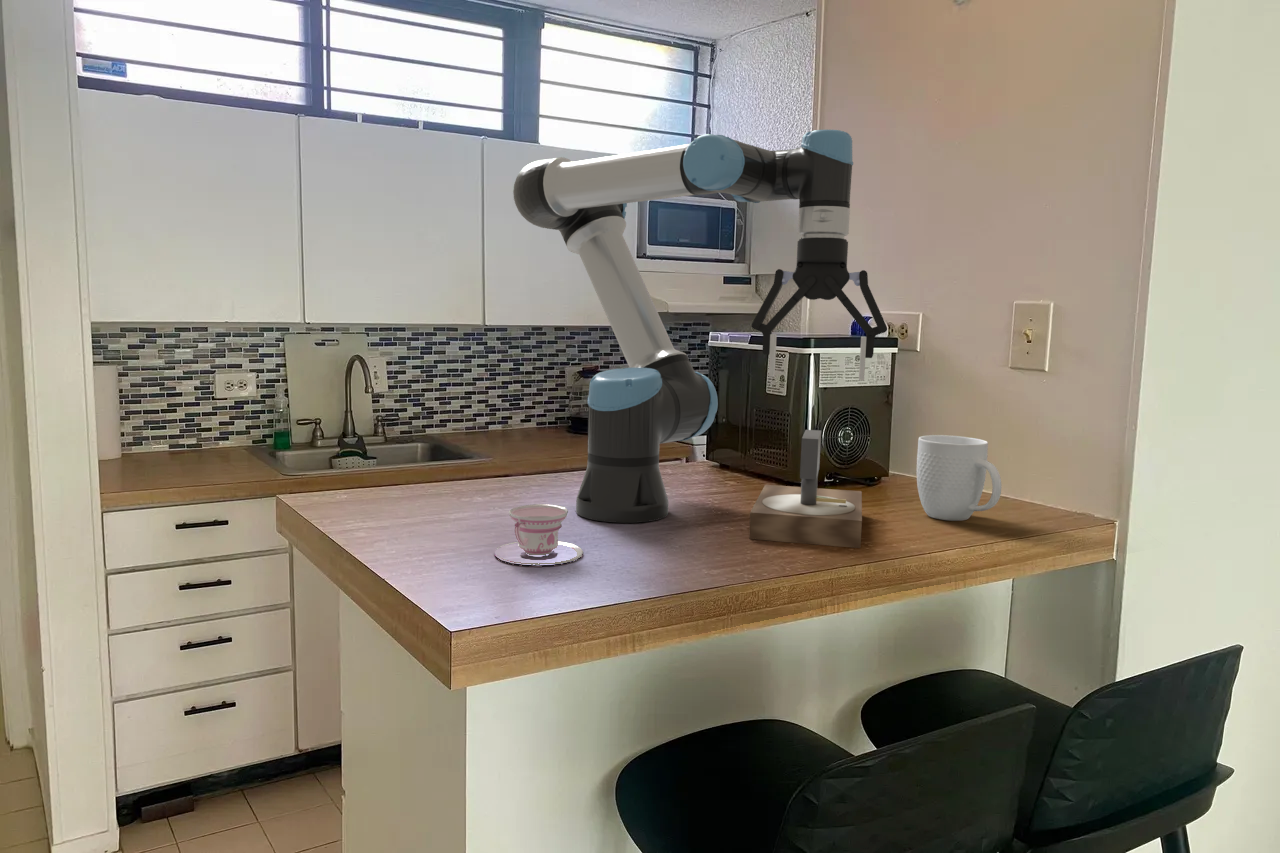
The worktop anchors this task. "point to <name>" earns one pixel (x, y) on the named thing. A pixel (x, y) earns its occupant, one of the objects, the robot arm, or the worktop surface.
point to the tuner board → (807, 517)
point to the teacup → (540, 530)
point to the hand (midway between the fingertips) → (816, 378)
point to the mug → (954, 476)
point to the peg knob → (811, 468)
